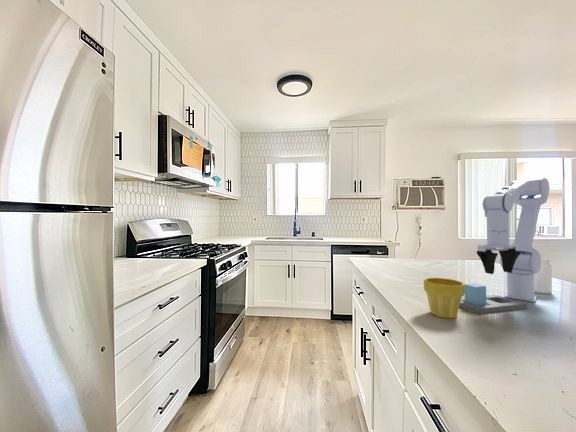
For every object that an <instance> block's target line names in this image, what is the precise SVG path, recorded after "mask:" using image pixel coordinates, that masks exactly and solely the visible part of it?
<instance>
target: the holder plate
mask: <svg viewBox="0 0 576 432" xmlns="http://www.w3.org/2000/svg"><path fill="white" fill-rule="evenodd" d="M495 301H496V302H495ZM497 301H498V302H497ZM461 307H462V309H464V308H465V309H464V310H466V309H467V310H466V311H469V310H470V311H469V312H472V313H474V312H475V313H474V314H477V315H481V313H483V314H490V313H489V312H492V313H499V312H498V311H500V312H508V311H509V312H510V311H515V310H524V309H525V310H526V309H528V303H526V302H522V301H518V300H517V299H513V298H507V297H504V296H502V295H501V296H500V295H498V294H488V295H487V294H486V305H481V306H475V305H472V304H469V303H466V302H465V297H461V301H460V305H459V308H461Z"/></svg>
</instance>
